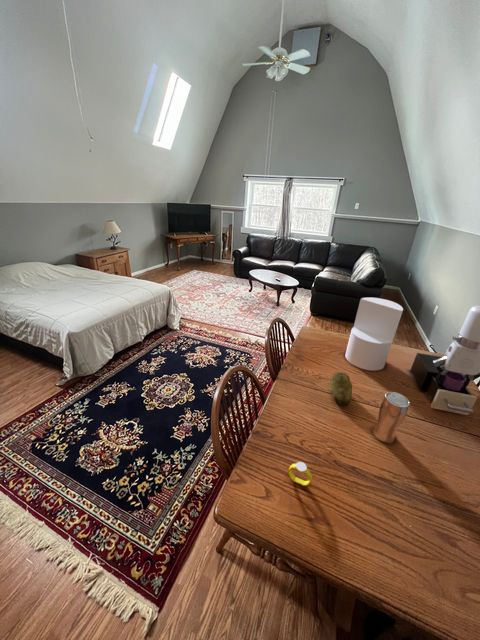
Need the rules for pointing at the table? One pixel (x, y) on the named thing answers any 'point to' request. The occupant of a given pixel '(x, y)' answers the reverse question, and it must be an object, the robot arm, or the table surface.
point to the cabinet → (424, 369)
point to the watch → (300, 468)
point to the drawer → (449, 397)
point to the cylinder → (373, 333)
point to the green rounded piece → (341, 388)
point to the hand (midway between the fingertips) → (450, 383)
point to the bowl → (453, 381)
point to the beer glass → (391, 416)
